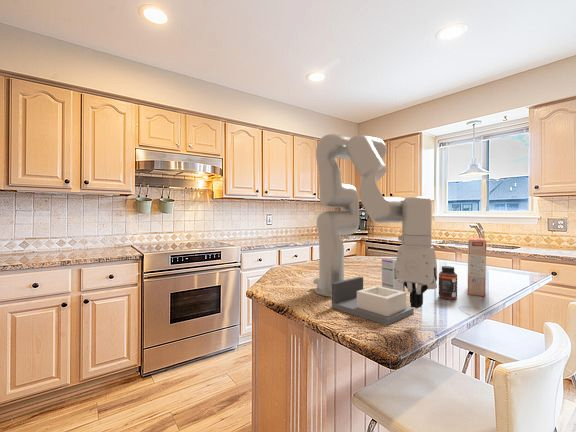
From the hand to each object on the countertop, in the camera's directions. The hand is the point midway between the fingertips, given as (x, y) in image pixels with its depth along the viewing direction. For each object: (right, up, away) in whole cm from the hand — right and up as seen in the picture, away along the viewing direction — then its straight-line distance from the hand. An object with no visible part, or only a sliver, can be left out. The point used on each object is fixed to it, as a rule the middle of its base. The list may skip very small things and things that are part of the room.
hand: (416, 306), depth 83 cm
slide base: (-9, -5, +11) cm, 15 cm away
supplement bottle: (+22, -5, +25) cm, 34 cm away
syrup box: (+2, -5, +25) cm, 26 cm away
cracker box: (+38, -5, +33) cm, 50 cm away
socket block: (-7, -3, +8) cm, 11 cm away
